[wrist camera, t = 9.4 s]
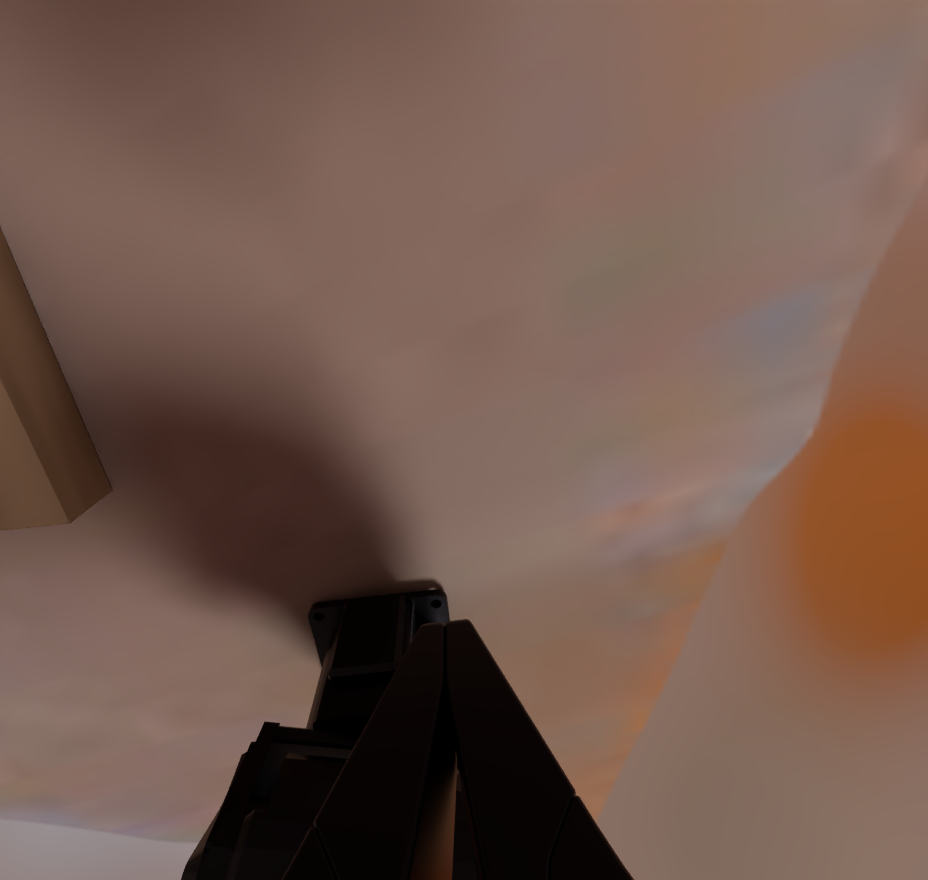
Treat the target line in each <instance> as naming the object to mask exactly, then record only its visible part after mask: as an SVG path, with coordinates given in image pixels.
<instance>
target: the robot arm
mask: <svg viewBox="0 0 928 880" xmlns="http://www.w3.org/2000/svg"><path fill="white" fill-rule="evenodd" d="M433 600H440V602H433ZM317 612H320V613H323V615H320V614H317ZM308 618H309V622H310V625H311V629H312V633H313V636H314V640H315V644H316V647H317V651H318V654H319V658H320V662H321V665H322V670H321V674H320V678H319V681H318V685H317V689H316V693H315V697H314V700H313V704H312V708H311V712H310V716H309V719H308V723H307V727H306V729H305V728H295V727H285V726H280V723H274V722H264V724H263V727H262V729H261V731H260V733H259V736H258V738H257V740H256V742H251V744H250V746H249V748H248V751H247V752H246V753H244V754H242V756H241V758H240V761H239V764H238V766H237V769H236V772H235V774H234V777H233V780H232V782H231V785H230V787H229V790H228V792H227V795H226V797H225V799H224V802H223V804H222V805H221V807H220V809H219V811H218V813H217V814H216V816H215V817H214V819H213V821H212V822H211V824H210V826H209V827H208V829H207V831H206V832H205V834H204V835H203V837H202V839H201V840H200V842H199V844H198V845H197V847H196V849H195V850H194V852H193V853H192V855H191V857H190V858H189V860H188V862H187V864H186V866H185V869H184V872H183V875H182V878H181V880H634V879H633V877H632V876H631V875H630V873H629V872H628V871H627V869H626V868H625V866H624V865H623V864H622V862H621V861H620V859H619V857H618V856H617V854H616V853H615V851H614V850H613V848H612V847H611V845H610V844H609V843H608V841H607V839H606V838H605V836H604V835H603V833H602V832H601V830H600V829H599V827H598V826H597V824H596V823H595V821H594V819H593V818H592V816H591V814H590V813H589V811H588V810H587V808H586V806H585V805H584V803H583V802H582V800H581V798H580V797H579V796H576V792H575V789H574V788H573V786H572V784H571V783H570V781H569V779H568V778H567V776H566V775H565V773H564V771H563V770H562V768H561V767H560V765H559V763H558V762H557V760H556V758H555V757H554V755H553V754H552V752H551V750H550V749H549V747H548V746H547V744H546V742H545V741H544V739H543V737H542V736H541V734H540V733H539V731H538V729H537V728H536V726H535V725H534V723H533V721H532V720H531V718H530V716H529V715H528V713H527V712H526V710H525V708H524V707H523V705H522V704H521V702H520V700H519V699H518V697H517V695H516V694H515V692H514V691H513V689H512V687H511V686H510V684H509V683H508V681H507V679H506V678H505V676H504V674H503V673H502V671H501V670H500V668H499V666H498V665H497V663H496V662H495V660H494V658H493V657H492V655H491V653H490V652H489V650H488V649H487V647H486V645H485V644H484V642H483V641H482V639H481V637H480V636H479V634H478V632H477V631H476V629H475V628H474V626H473V624H472V623H471V622H470V621H469V620H467V619H464V620H455V621H450V618H449V610H448V602H447V596H446V594H445V593H444V592H443V591H441V590H428V591H419V592H409V593H400V594H391V595H381V596H372V597H363V598H354V599H344V600H335V601H326V602H318V603H315V604H313V605H312V606H311V608H310V611H309V614H308Z"/></svg>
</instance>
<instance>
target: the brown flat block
mask: <svg viewBox="0 0 928 880" xmlns="http://www.w3.org/2000/svg"><path fill="white" fill-rule="evenodd" d="M111 491H112V488H111V486H110V484H109V481H108V479H107V477H106V474H105V472H104V470H103V467H102V465H101V463H100V460H99V458H98V456H97V453H96V451H95V449H94V446H93V444H92V442H91V439H90V437H89V435H88V432H87V430H86V428H85V425H84V423H83V421H82V418H81V416H80V414H79V411H78V409H77V407H76V404H75V402H74V399H73V397H72V395H71V392H70V390H69V388H68V385H67V383H66V381H65V378H64V376H63V374H62V371H61V369H60V367H59V364H58V362H57V360H56V357H55V355H54V353H53V350H52V348H51V346H50V343H49V341H48V339H47V336H46V334H45V332H44V329H43V327H42V325H41V322H40V320H39V318H38V315H37V313H36V311H35V308H34V306H33V303H32V301H31V299H30V296H29V294H28V292H27V289H26V287H25V285H24V282H23V280H22V278H21V275H20V273H19V271H18V268H17V266H16V264H15V261H14V259H13V257H12V254H11V252H10V250H9V247H8V245H7V243H6V240H5V238H4V236H3V233H2V231H1V229H0V530H9V529H19V528H29V527H38V526H48V525H58V524H67V523H71V522H72V521H73V520H75V519H76V518H77V517H79V516H80V515H81V514H82V513H84V512H85V511H86V510H88V509H89V508H90V507H91V506H93V505H94V504H95V503H97V502H98V501H99V500H100V499H102V498H103V497H104V496H106V495H107V494H108V493H110V492H111Z"/></svg>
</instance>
